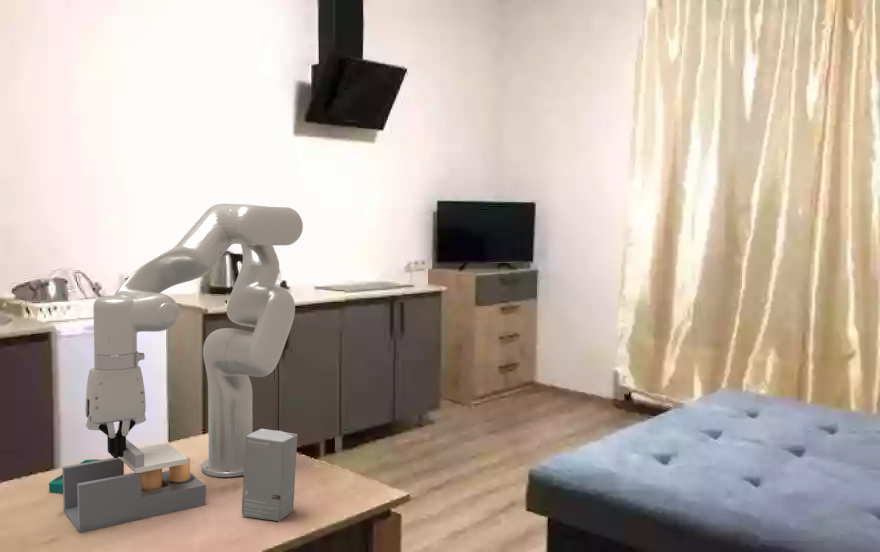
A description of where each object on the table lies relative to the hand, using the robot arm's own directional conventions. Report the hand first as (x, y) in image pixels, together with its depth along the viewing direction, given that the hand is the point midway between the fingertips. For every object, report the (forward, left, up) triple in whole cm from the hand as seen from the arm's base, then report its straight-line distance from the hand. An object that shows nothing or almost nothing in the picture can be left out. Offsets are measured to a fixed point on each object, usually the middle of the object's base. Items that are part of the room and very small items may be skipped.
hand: (116, 455), depth 155 cm
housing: (-3, 0, -11) cm, 11 cm away
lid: (-7, 0, -2) cm, 7 cm away
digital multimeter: (+1, -21, -12) cm, 24 cm away
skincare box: (-24, +17, -11) cm, 31 cm away
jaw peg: (-6, 0, -11) cm, 13 cm away
